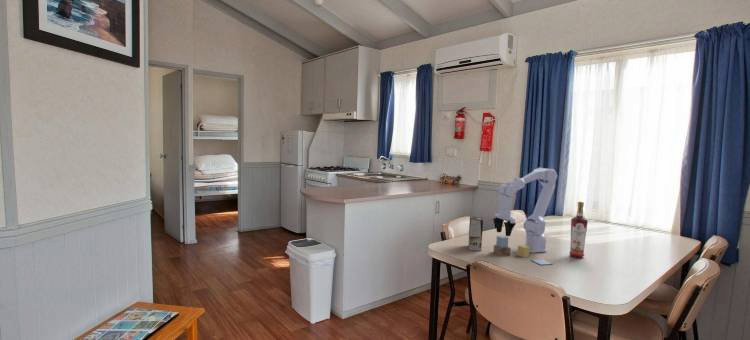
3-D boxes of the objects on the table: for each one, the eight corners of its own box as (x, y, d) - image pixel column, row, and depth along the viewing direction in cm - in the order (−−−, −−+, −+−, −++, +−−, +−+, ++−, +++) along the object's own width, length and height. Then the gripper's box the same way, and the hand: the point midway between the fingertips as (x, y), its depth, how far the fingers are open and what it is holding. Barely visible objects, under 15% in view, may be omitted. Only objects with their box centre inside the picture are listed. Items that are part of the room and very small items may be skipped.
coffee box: (481, 251, 193) (483, 220, 191) (468, 250, 194) (470, 219, 193) (480, 246, 202) (482, 217, 200) (468, 245, 203) (469, 216, 201)
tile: (542, 259, 181) (542, 259, 181) (552, 264, 175) (552, 263, 175) (530, 260, 179) (530, 259, 179) (540, 265, 173) (540, 264, 173)
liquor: (569, 257, 186) (573, 202, 184) (567, 253, 193) (571, 200, 191) (585, 259, 184) (590, 203, 181) (583, 255, 190) (587, 201, 188)
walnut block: (504, 252, 193) (504, 244, 193) (510, 255, 187) (510, 248, 187) (493, 252, 192) (494, 244, 192) (498, 256, 186) (499, 248, 186)
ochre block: (522, 254, 190) (523, 244, 189) (529, 256, 186) (529, 246, 186) (517, 255, 188) (517, 245, 187) (523, 257, 184) (524, 247, 184)
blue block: (503, 245, 192) (503, 235, 191) (507, 247, 188) (508, 237, 187) (496, 245, 191) (496, 235, 190) (500, 247, 187) (501, 237, 186)
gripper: (489, 205, 195) (488, 230, 196) (506, 210, 181) (505, 238, 182) (501, 205, 197) (500, 230, 198) (519, 210, 183) (517, 237, 184)
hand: (503, 234), depth 190 cm, fingers open, 7 cm apart
